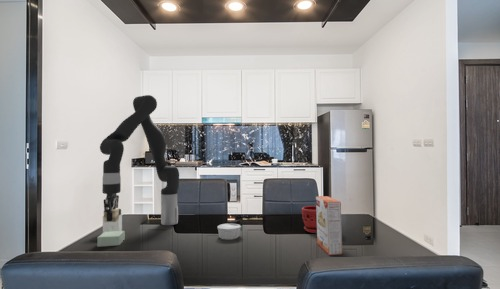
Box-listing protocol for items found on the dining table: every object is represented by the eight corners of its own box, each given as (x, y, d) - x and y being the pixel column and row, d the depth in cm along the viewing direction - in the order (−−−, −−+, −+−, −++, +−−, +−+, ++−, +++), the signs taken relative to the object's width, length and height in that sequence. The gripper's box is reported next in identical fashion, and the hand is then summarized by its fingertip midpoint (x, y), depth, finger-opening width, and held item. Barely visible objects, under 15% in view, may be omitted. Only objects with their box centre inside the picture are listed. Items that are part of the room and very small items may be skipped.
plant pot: (330, 229, 147) (329, 205, 147) (325, 235, 135) (325, 210, 135) (305, 226, 152) (305, 204, 153) (299, 232, 140) (298, 208, 141)
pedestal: (124, 239, 134) (124, 230, 134) (119, 245, 125) (119, 236, 126) (104, 240, 133) (104, 231, 133) (97, 246, 124) (97, 237, 124)
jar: (103, 236, 139) (103, 212, 139) (101, 233, 145) (101, 209, 146) (123, 233, 144) (123, 210, 144) (120, 230, 150) (120, 207, 151)
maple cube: (118, 219, 132) (118, 208, 132) (115, 221, 127) (115, 210, 128) (107, 219, 131) (107, 208, 132) (103, 222, 127) (103, 211, 127)
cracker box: (316, 244, 123) (315, 196, 124) (329, 243, 123) (328, 195, 124) (327, 255, 109) (326, 201, 110) (342, 255, 110) (341, 201, 110)
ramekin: (244, 234, 139) (244, 224, 139) (235, 241, 129) (235, 229, 129) (223, 232, 143) (223, 222, 143) (213, 239, 132) (213, 228, 132)
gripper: (115, 184, 124) (115, 223, 123) (124, 181, 138) (124, 216, 137) (97, 184, 122) (96, 223, 122) (108, 181, 137) (108, 216, 136)
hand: (111, 219), depth 129 cm, fingers closed on maple cube, 5 cm apart
